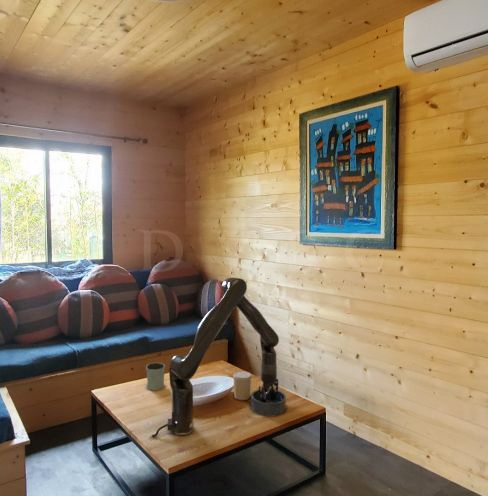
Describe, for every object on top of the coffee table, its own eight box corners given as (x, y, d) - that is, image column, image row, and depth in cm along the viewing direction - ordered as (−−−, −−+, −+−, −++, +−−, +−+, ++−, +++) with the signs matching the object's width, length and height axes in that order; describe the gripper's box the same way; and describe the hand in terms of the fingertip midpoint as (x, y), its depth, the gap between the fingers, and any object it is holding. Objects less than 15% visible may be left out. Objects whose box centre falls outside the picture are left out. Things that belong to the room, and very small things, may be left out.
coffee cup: (251, 393, 224) (251, 371, 223) (250, 401, 215) (251, 378, 213) (233, 392, 225) (234, 370, 224) (232, 400, 215) (232, 377, 214)
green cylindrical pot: (159, 381, 238) (158, 361, 236) (168, 387, 230) (168, 366, 229) (142, 386, 231) (142, 365, 230) (152, 392, 223) (152, 370, 222)
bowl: (254, 416, 199) (254, 404, 198) (248, 400, 215) (248, 389, 215) (289, 415, 201) (289, 402, 200) (280, 399, 217) (281, 388, 217)
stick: (259, 403, 210) (260, 398, 210) (262, 403, 212) (263, 398, 212) (274, 408, 204) (275, 403, 205) (277, 408, 206) (278, 403, 207)
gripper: (270, 365, 214) (269, 395, 216) (254, 373, 203) (253, 406, 205) (283, 368, 209) (282, 400, 211) (267, 377, 198) (266, 410, 200)
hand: (268, 403), depth 208 cm, fingers open, 8 cm apart
